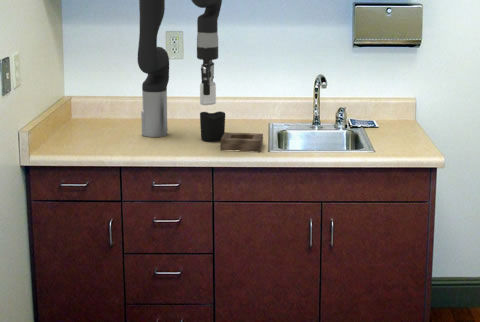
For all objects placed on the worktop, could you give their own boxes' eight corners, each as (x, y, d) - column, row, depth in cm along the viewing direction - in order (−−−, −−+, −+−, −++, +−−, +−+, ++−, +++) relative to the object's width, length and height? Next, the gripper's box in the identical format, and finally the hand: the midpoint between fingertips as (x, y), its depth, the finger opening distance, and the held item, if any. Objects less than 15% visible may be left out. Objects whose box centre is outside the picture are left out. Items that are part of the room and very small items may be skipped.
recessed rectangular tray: (220, 150, 275) (220, 139, 274) (224, 142, 285) (224, 132, 284) (259, 152, 273) (260, 141, 272) (262, 144, 284) (262, 133, 283)
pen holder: (210, 135, 297) (210, 109, 294) (230, 138, 292) (230, 112, 289) (195, 140, 289) (194, 113, 286) (215, 143, 284) (215, 117, 281)
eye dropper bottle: (216, 105, 274) (216, 71, 271) (200, 105, 273) (200, 71, 270) (215, 103, 278) (215, 69, 275) (199, 103, 277) (199, 69, 274)
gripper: (200, 42, 277) (200, 89, 282) (193, 47, 264) (193, 97, 268) (221, 43, 276) (221, 90, 281) (215, 48, 263) (215, 97, 267)
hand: (207, 93), depth 275 cm, fingers closed on eye dropper bottle, 4 cm apart
